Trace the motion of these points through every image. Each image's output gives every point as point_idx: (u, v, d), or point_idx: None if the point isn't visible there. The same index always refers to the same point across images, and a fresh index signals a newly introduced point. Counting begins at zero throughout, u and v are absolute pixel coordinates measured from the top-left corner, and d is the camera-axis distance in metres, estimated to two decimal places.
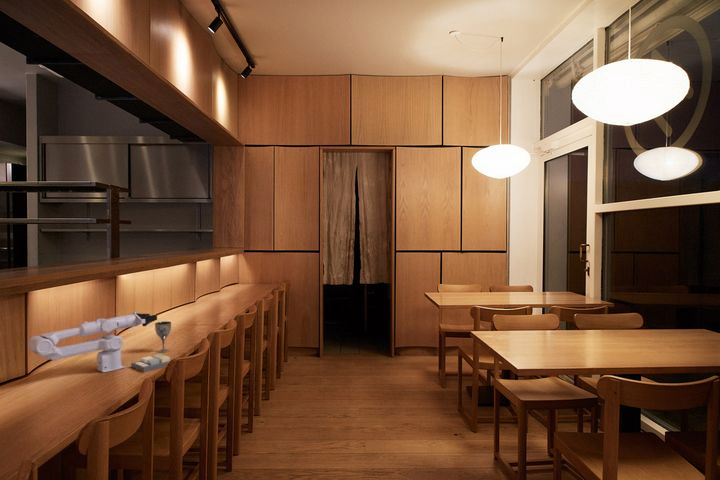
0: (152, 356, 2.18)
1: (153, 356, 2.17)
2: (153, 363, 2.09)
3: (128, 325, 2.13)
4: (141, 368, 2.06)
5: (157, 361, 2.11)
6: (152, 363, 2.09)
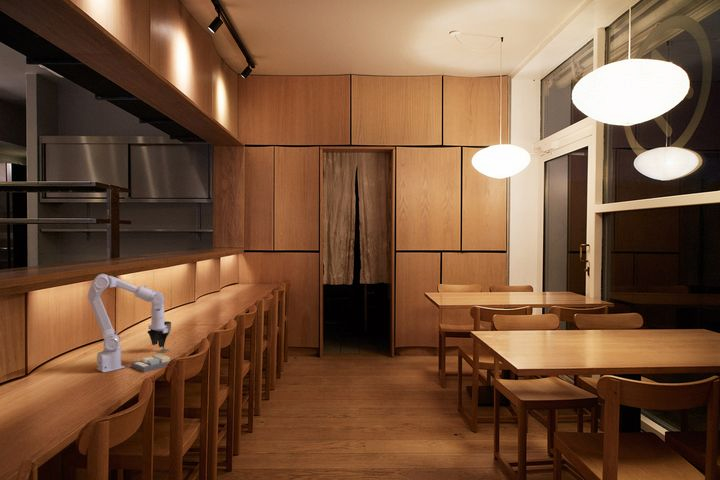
0: (152, 356, 2.18)
1: (153, 356, 2.17)
2: (153, 363, 2.09)
3: (156, 320, 2.15)
4: (141, 368, 2.06)
5: (157, 361, 2.11)
6: (152, 363, 2.09)
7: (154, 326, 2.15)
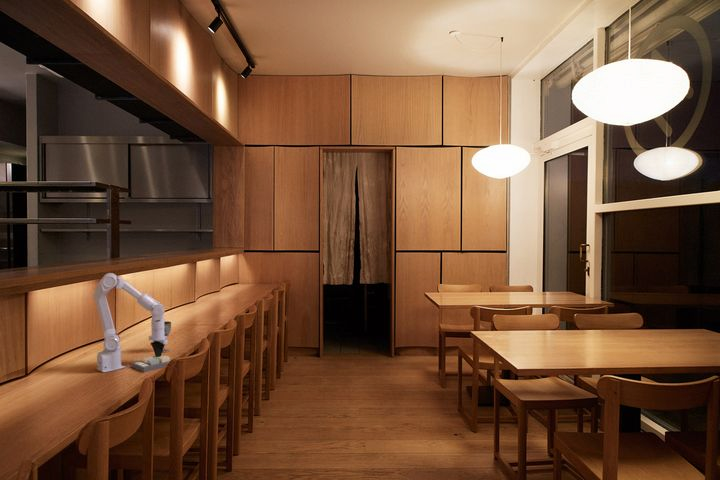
0: None
1: (153, 357, 2.17)
2: (153, 363, 2.09)
3: (157, 331, 2.15)
4: (141, 368, 2.06)
5: (157, 361, 2.11)
6: (152, 363, 2.09)
7: (154, 337, 2.15)
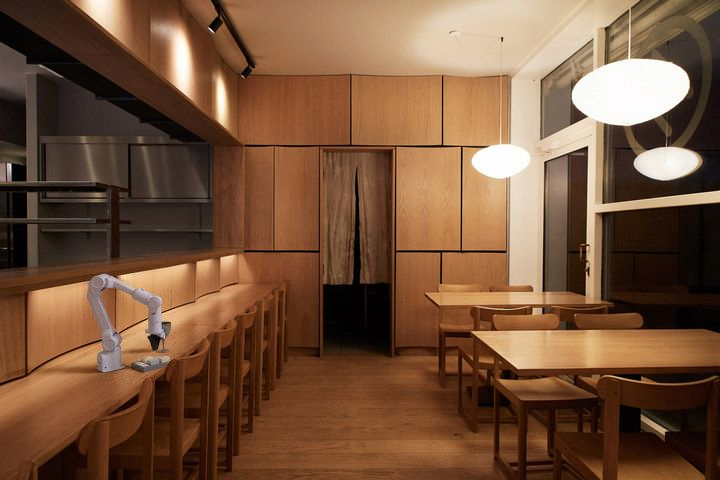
0: None
1: None
2: (153, 363, 2.09)
3: (154, 324, 2.11)
4: (141, 368, 2.06)
5: (157, 361, 2.11)
6: (152, 363, 2.09)
7: (151, 330, 2.11)
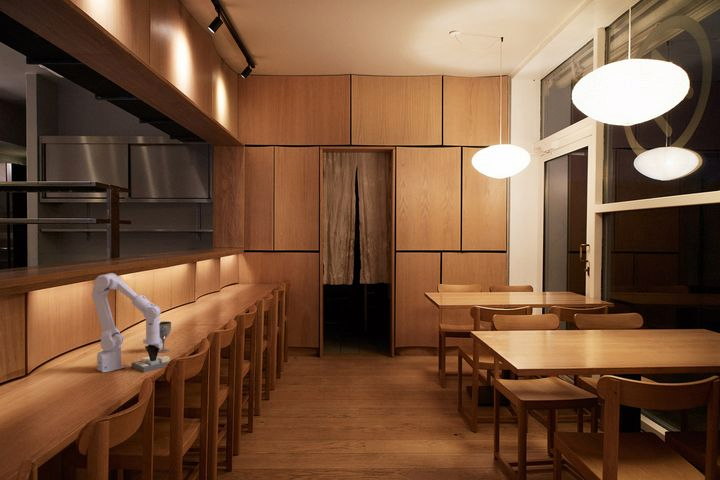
0: None
1: None
2: (153, 364, 2.09)
3: (151, 334, 2.08)
4: (141, 368, 2.06)
5: (157, 362, 2.11)
6: (152, 364, 2.09)
7: (149, 341, 2.08)
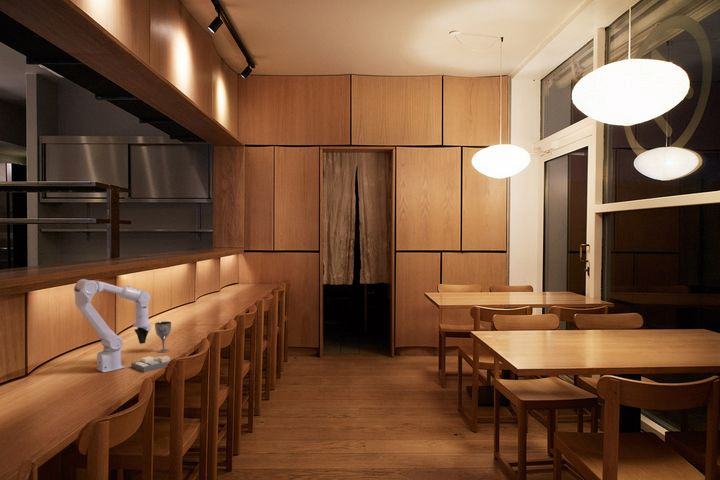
0: None
1: None
2: None
3: (140, 317, 2.17)
4: (141, 368, 2.06)
5: (157, 363, 2.11)
6: None
7: (138, 324, 2.17)
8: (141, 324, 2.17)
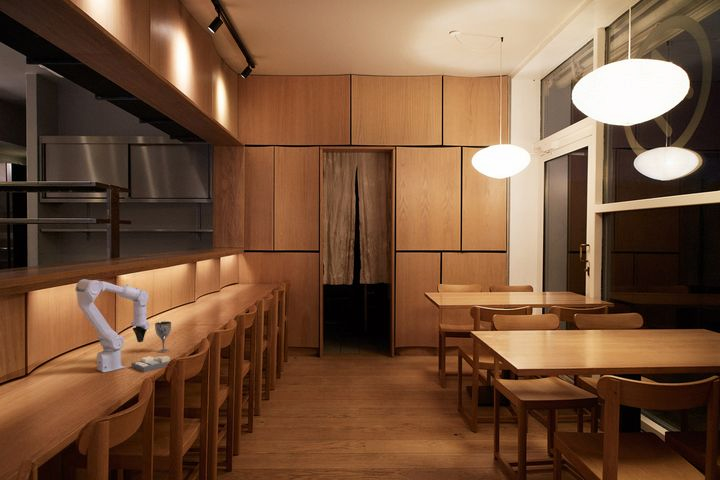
0: None
1: None
2: None
3: (138, 316, 2.19)
4: (141, 368, 2.06)
5: (157, 363, 2.11)
6: None
7: (136, 322, 2.19)
8: (139, 323, 2.19)
